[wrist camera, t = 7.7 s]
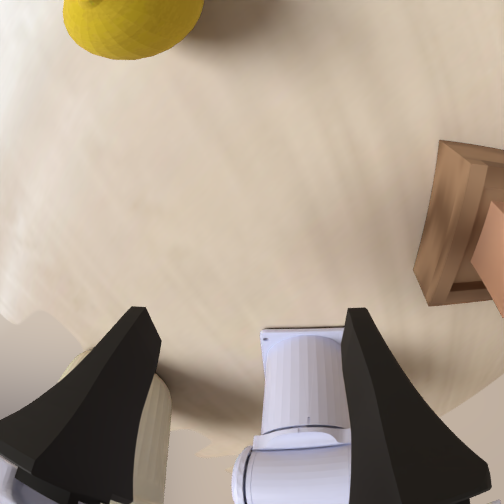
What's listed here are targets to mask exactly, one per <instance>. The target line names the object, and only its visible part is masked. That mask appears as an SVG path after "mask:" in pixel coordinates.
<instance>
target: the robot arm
mask: <svg viewBox="0 0 504 504" xmlns="http://www.w3.org/2000/svg"><path fill="white" fill-rule="evenodd" d="M260 340H261V348H262V357H263V365H264V374H265V389H264V402H263V415H262V427H261V435H255V436H254V440H253V446H247V447H246V448H244V450H243V451H242V452H241V453H240V454H239V456H238V457H237V459H236V461H235V464H234V468H233V473H232V496H233V500H234V503H235V504H470V499H469V498H471V497H474V496H476V495H479V494H481V493H483V492H486V491H488V490H490V489H491V487H492V485H491V477H490V472H489V468H488V464H487V463H486V462H485V461H484V460H483V459H481V458H480V457H479V456H478V455H476V454H475V453H474V452H473V451H472V450H471V449H470V448H468V447H467V446H466V445H465V444H464V443H463V442H462V441H461V440H460V439H459V438H458V437H457V436H456V435H455V434H454V433H453V432H452V431H451V430H450V429H449V428H448V427H447V426H446V425H445V424H444V423H443V421H442V420H441V419H440V418H439V417H438V416H437V415H436V414H435V413H434V411H433V410H432V409H431V408H430V407H429V405H428V404H427V403H426V402H425V400H424V399H423V398H422V397H421V395H420V394H419V393H418V391H417V390H416V389H415V387H414V386H413V385H412V383H411V382H410V380H409V379H408V377H407V376H406V374H405V373H404V372H403V370H402V368H401V367H400V365H399V364H398V362H397V361H396V359H395V357H394V356H393V354H392V353H391V351H390V349H389V348H388V346H387V344H386V343H385V341H384V339H383V338H382V336H381V334H380V332H379V331H378V329H377V327H376V325H375V323H374V321H373V319H372V318H371V316H370V314H369V312H368V310H367V309H366V308H348V311H347V316H346V321H345V326H344V328H316V329H263V330H261V332H260ZM161 342H162V341H161V339H160V337H159V335H158V333H157V330H156V328H155V326H154V324H153V322H152V320H151V318H150V316H149V313H148V311H147V309H146V307H133V306H132V307H131V308H130V309H129V310H128V311H127V312H126V313H125V314H124V315H123V316H122V317H121V318H120V320H119V321H118V322H117V323H116V324H115V325H114V326H113V327H112V329H111V330H110V331H109V332H108V333H107V334H106V335H105V336H104V337H103V339H102V340H101V341H100V342H99V343H98V344H97V345H96V346H95V347H94V348H93V349H92V351H91V352H90V353H89V354H88V355H87V356H86V357H85V358H84V359H83V360H82V361H81V362H80V363H79V364H78V365H77V366H76V367H75V368H74V369H73V370H72V371H71V372H70V373H69V374H67V375H66V376H65V377H64V378H63V379H62V380H61V381H59V382H58V383H57V384H56V385H55V386H53V387H52V388H51V389H49V390H48V391H47V392H46V393H44V394H43V395H42V396H40V397H39V398H38V399H36V400H35V401H33V402H32V403H30V404H29V405H27V406H25V407H24V408H22V409H21V410H19V411H17V412H15V413H13V414H11V415H9V416H8V417H5V418H3V419H2V420H0V455H2V456H3V457H4V458H6V459H7V460H9V461H10V462H12V463H14V464H15V465H17V466H18V468H17V467H16V466H14V465H12V464H10V463H9V462H8V461H6V460H4V459H2V458H1V457H0V504H101V503H102V504H110V500H112V501H115V502H118V503H121V504H130V503H132V502H133V473H134V459H135V450H136V442H137V436H138V430H139V424H140V419H141V415H142V411H143V408H144V405H145V402H146V399H147V395H148V392H149V389H150V386H151V383H152V380H153V377H154V373H155V370H156V367H157V363H158V358H159V353H160V347H161ZM488 504H501V500H496V501H493V502H491V503H488Z"/></svg>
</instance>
